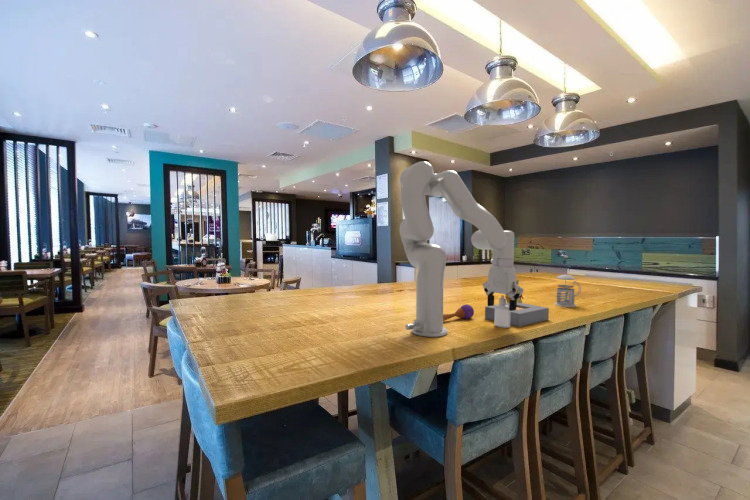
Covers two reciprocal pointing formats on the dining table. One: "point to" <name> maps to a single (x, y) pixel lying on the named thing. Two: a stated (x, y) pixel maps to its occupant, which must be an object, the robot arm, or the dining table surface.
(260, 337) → the dining table surface
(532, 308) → the box
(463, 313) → the purple maraca
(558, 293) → the french press
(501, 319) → the eye dropper bottle
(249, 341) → the dining table surface
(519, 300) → the chocolate bunny
